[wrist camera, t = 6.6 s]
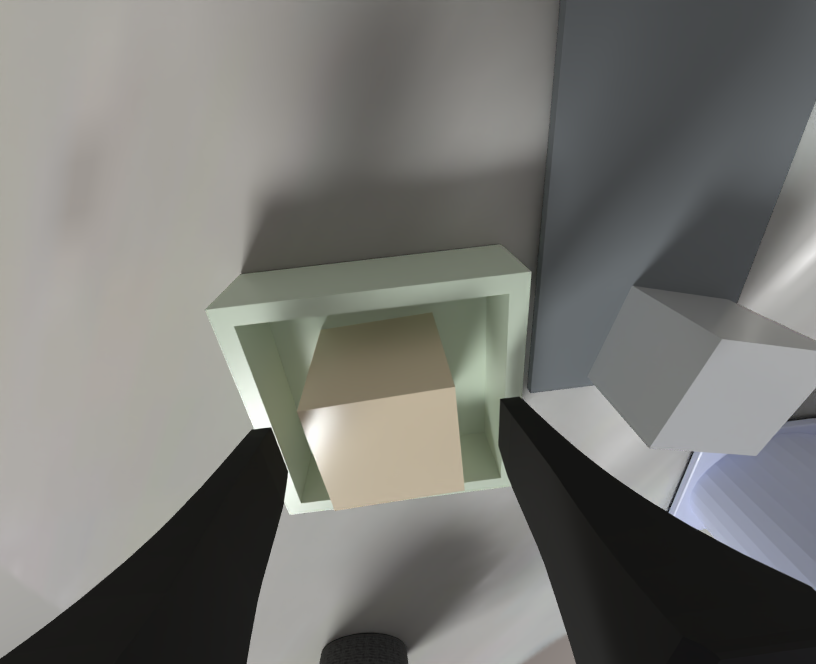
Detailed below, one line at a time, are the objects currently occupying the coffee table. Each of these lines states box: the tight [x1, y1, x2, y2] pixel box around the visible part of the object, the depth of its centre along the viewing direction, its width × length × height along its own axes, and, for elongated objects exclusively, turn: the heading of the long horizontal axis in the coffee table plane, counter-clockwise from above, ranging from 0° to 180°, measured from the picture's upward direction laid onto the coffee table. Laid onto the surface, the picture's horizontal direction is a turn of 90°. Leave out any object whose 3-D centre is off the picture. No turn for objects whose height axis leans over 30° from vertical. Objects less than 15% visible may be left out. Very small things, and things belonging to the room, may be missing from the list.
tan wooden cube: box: [297, 312, 465, 511], centre depth 12 cm, size 4×4×4 cm
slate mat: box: [527, 0, 816, 393], centre depth 12 cm, size 8×14×1 cm, turn 5°
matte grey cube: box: [587, 286, 816, 456], centre depth 13 cm, size 4×4×4 cm
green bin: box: [205, 244, 531, 515], centre depth 14 cm, size 9×9×3 cm
